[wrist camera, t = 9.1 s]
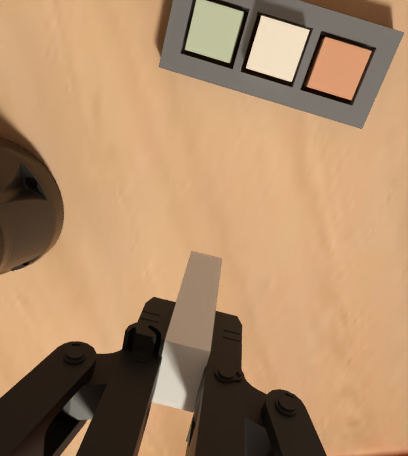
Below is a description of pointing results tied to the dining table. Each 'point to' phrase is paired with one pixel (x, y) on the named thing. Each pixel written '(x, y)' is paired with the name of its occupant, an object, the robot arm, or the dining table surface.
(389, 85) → the dining table surface
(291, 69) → the cream key
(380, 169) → the dining table surface
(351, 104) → the keyguard
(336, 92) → the peach key
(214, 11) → the sage key
